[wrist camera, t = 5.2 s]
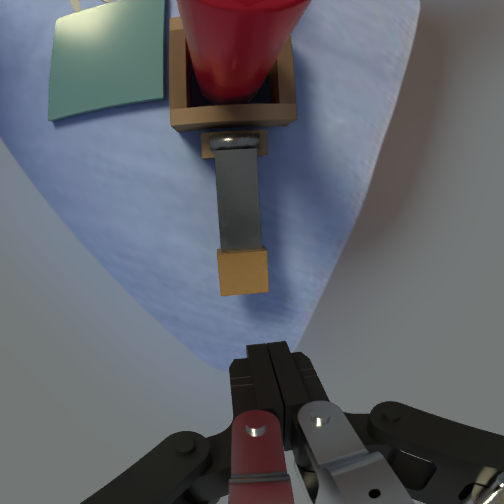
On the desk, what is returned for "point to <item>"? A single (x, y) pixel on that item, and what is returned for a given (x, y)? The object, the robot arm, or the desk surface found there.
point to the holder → (228, 115)
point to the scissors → (76, 5)
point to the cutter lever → (239, 215)
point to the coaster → (107, 58)
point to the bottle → (236, 43)
